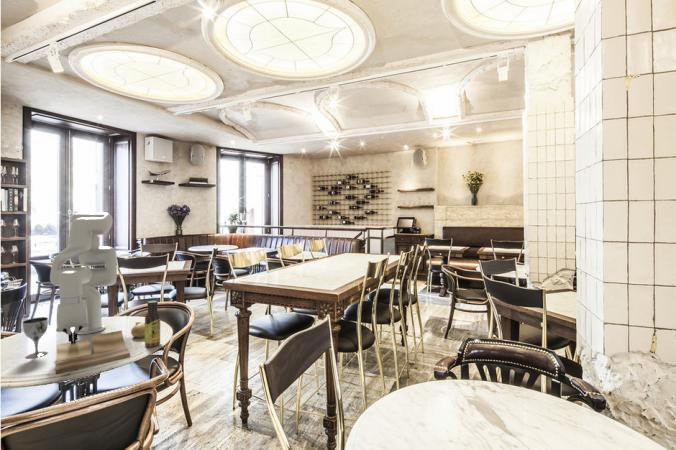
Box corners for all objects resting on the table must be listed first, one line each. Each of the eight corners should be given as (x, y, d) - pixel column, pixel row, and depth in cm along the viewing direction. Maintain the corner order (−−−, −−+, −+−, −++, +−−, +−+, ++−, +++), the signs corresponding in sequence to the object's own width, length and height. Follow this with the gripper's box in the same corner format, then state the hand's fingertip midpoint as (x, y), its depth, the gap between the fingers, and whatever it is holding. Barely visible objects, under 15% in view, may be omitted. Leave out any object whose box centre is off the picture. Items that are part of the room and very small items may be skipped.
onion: (150, 332, 170) (150, 318, 170) (149, 337, 163) (149, 323, 163) (132, 335, 167) (131, 320, 167) (130, 340, 160) (129, 325, 159)
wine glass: (53, 352, 146) (52, 318, 145) (31, 360, 139) (30, 324, 138) (41, 350, 149) (40, 316, 148) (19, 357, 141) (17, 322, 141)
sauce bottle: (153, 348, 150) (152, 304, 149) (141, 347, 152) (140, 303, 151) (164, 342, 157) (163, 300, 156) (152, 341, 158) (151, 299, 157)
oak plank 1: (56, 347, 142) (56, 344, 141) (89, 340, 149) (89, 338, 148) (57, 364, 135) (57, 361, 134) (91, 356, 142) (91, 354, 141)
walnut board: (55, 365, 134) (55, 362, 134) (126, 349, 149) (126, 346, 149) (55, 373, 127) (55, 370, 127) (130, 356, 142) (130, 352, 142)
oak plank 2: (92, 338, 149) (92, 336, 148) (121, 332, 156) (121, 330, 155) (94, 355, 142) (94, 353, 142) (124, 348, 150) (125, 346, 149)
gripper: (92, 295, 151) (94, 335, 152) (48, 301, 141) (50, 344, 142) (94, 298, 145) (95, 340, 146) (48, 305, 135) (50, 350, 136)
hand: (73, 342), depth 144 cm, fingers closed
